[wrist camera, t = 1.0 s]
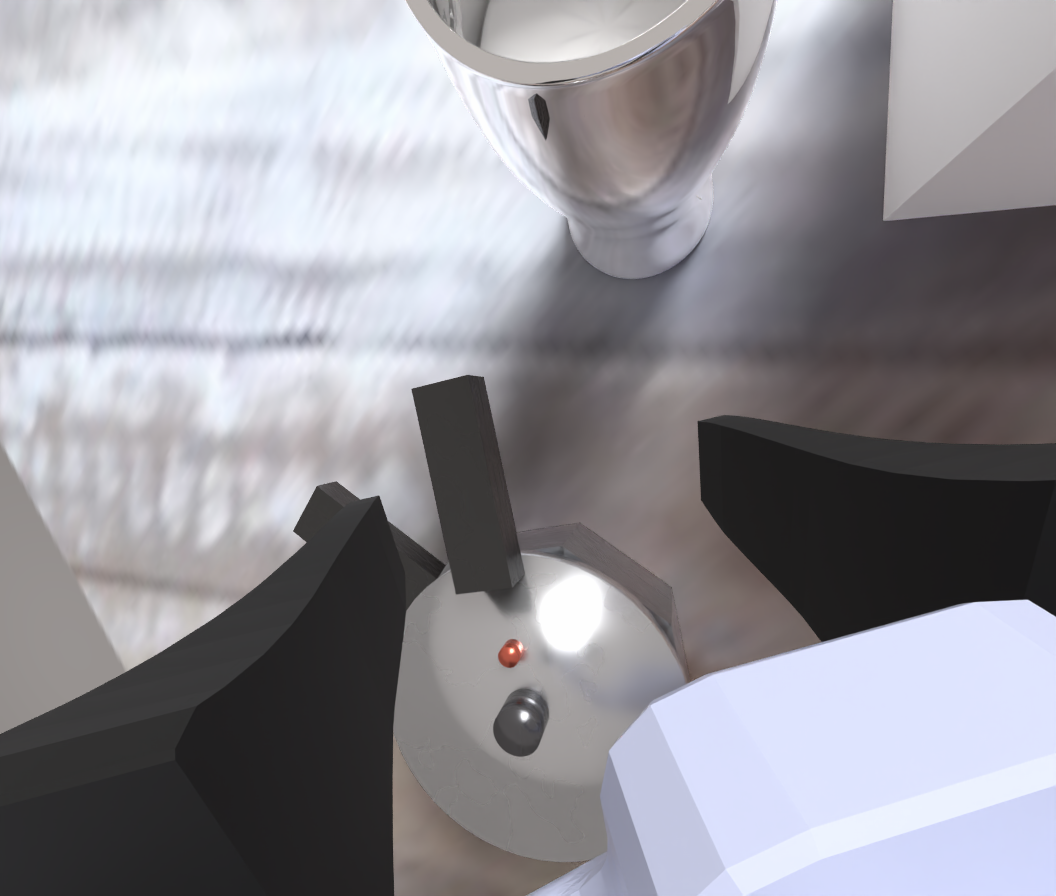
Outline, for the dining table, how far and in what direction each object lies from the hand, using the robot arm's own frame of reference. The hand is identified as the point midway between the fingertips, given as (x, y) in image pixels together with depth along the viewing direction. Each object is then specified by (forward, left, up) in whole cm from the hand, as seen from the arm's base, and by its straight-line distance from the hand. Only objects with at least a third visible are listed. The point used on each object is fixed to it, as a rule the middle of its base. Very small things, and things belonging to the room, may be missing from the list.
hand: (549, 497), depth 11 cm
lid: (-1, +7, -8) cm, 11 cm away
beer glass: (+5, -9, -13) cm, 16 cm away
